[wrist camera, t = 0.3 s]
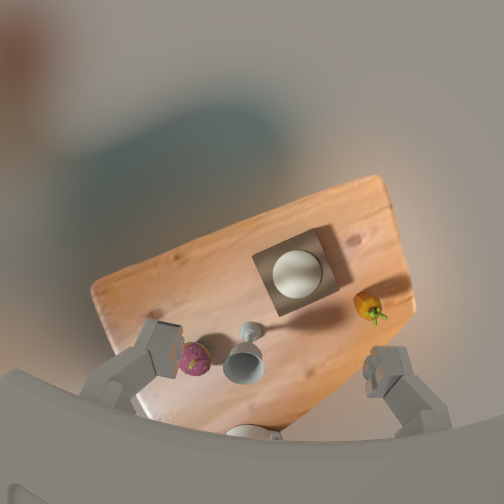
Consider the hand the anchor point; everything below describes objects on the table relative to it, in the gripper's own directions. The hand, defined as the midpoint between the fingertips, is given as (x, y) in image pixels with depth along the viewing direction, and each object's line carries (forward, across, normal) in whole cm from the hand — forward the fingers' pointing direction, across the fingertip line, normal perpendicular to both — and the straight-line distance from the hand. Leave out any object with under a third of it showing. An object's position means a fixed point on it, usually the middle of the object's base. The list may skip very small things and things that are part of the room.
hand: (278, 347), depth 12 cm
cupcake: (+35, -13, -50) cm, 62 cm away
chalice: (+38, -1, -43) cm, 57 cm away
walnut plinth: (+45, +7, -29) cm, 54 cm away
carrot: (+43, +22, -33) cm, 58 cm away
